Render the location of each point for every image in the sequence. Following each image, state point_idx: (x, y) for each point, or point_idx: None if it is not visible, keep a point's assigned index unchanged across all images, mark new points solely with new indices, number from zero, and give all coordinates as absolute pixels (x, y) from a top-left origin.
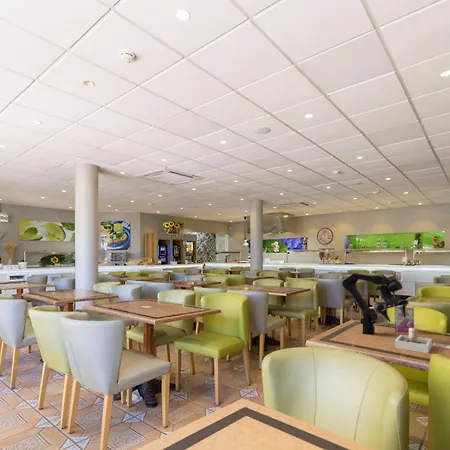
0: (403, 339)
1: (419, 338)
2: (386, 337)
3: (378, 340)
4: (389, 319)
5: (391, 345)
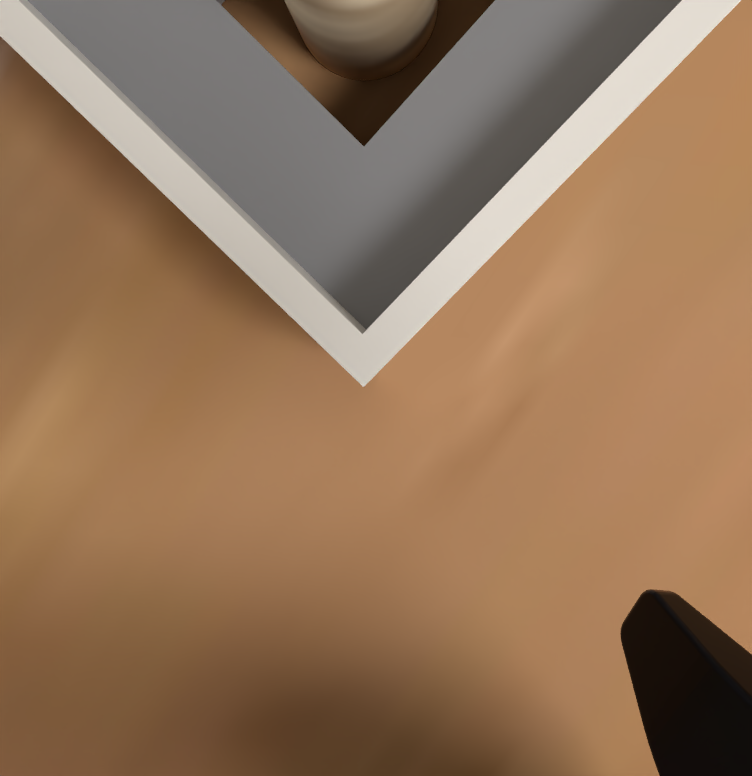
0: (424, 202)
1: (119, 97)
2: (463, 639)
3: (735, 488)
4: (720, 658)
5: (714, 146)
